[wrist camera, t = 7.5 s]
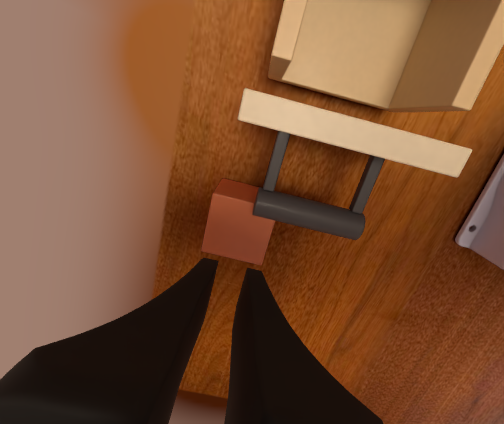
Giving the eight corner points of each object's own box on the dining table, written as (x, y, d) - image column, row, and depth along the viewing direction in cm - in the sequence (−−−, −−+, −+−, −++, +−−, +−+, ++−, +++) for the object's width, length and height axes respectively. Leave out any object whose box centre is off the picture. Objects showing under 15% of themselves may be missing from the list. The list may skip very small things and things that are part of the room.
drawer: (358, 220, 19) (407, 274, 13) (230, 189, 18) (213, 227, 12) (502, -121, 13) (745, -360, 6) (314, -183, 12) (372, -508, 6)
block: (261, 238, 21) (261, 265, 17) (211, 226, 20) (200, 251, 17) (275, 190, 19) (278, 209, 16) (222, 177, 19) (212, 192, 15)
